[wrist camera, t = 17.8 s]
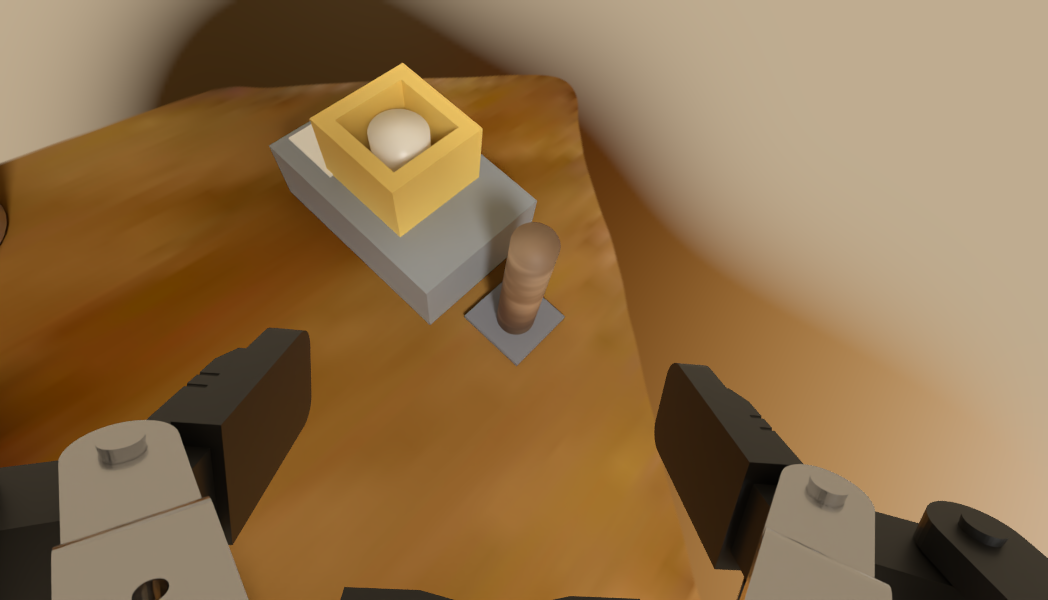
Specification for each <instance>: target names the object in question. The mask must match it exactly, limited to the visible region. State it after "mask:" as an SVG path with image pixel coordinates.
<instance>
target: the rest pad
mask: <svg viewBox="0 0 1048 600" xmlns="http://www.w3.org/2000/svg"><path fill="white" fill-rule="evenodd" d="M502 283H503V281H502V282H501V283H500V284H499V285H498V286H497V287H496V288H495V289H494V290H492V291H491V292H490V293H489V294H488V295H487V296H486V297H485V298H484V299H482V300H481V301H480V302H479V303H478V304H477V305H476V306H475V307H474V308H472V309H471V310H470V311H469V312H468V313H467V314H466V315H465V318H466V319H467V320H468V321H469V322H470V323H471V324H472V325H473V326H474V327H475V328H476V329H478V330H479V331H480V332H481V333H482V334H483V335H484V336H485V337H486V338H487V339H488V340H489V341H490V342H491V343H492V344H494V345H495V346H496V347H497V348H498V349H499V350H500V351H501V352H502V353H503V354H504V355H505V356H506V357H507V358H509V359H510V360H511V361H512V362H513V363H514V364H515V365H516V366H517V365H518V364H519V363H520V362H521V361H522V360H523V359H524V358H525V357H526V356H527V355H528V354H529V353H530V352H531V351H532V350H533V349H534V348H535V347H536V346H537V345H538V344H539V343H540V342H541V341H542V340H543V339H544V338H545V337H546V336H547V335H548V334H549V333H550V332H551V331H552V330H553V329H554V328H555V327H556V326H557V325H558V324H559V323H560V322H561V321H562V320H563V319H564V317H565V316H564V315H562V314H561V313H560V312H559V311H558V310H557V309H556V308H555V307H553V306H552V305H551V304H550V303H549V302H548V301H547V300H545V299H544V298H543V299H542V301H541V304H540V307H539V310H538V312H537V315H536V318H535V320H534V323H533V325H532V327H531V328H530V330H528V331H527V332H525V333H523V334H519V335H513V334H509V333H507V332H505V331H504V330H503V329H502V328H501V327H500V326H499V324H498V322H497V310H498V304H499V299H500V294H501V288H502Z"/></svg>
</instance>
